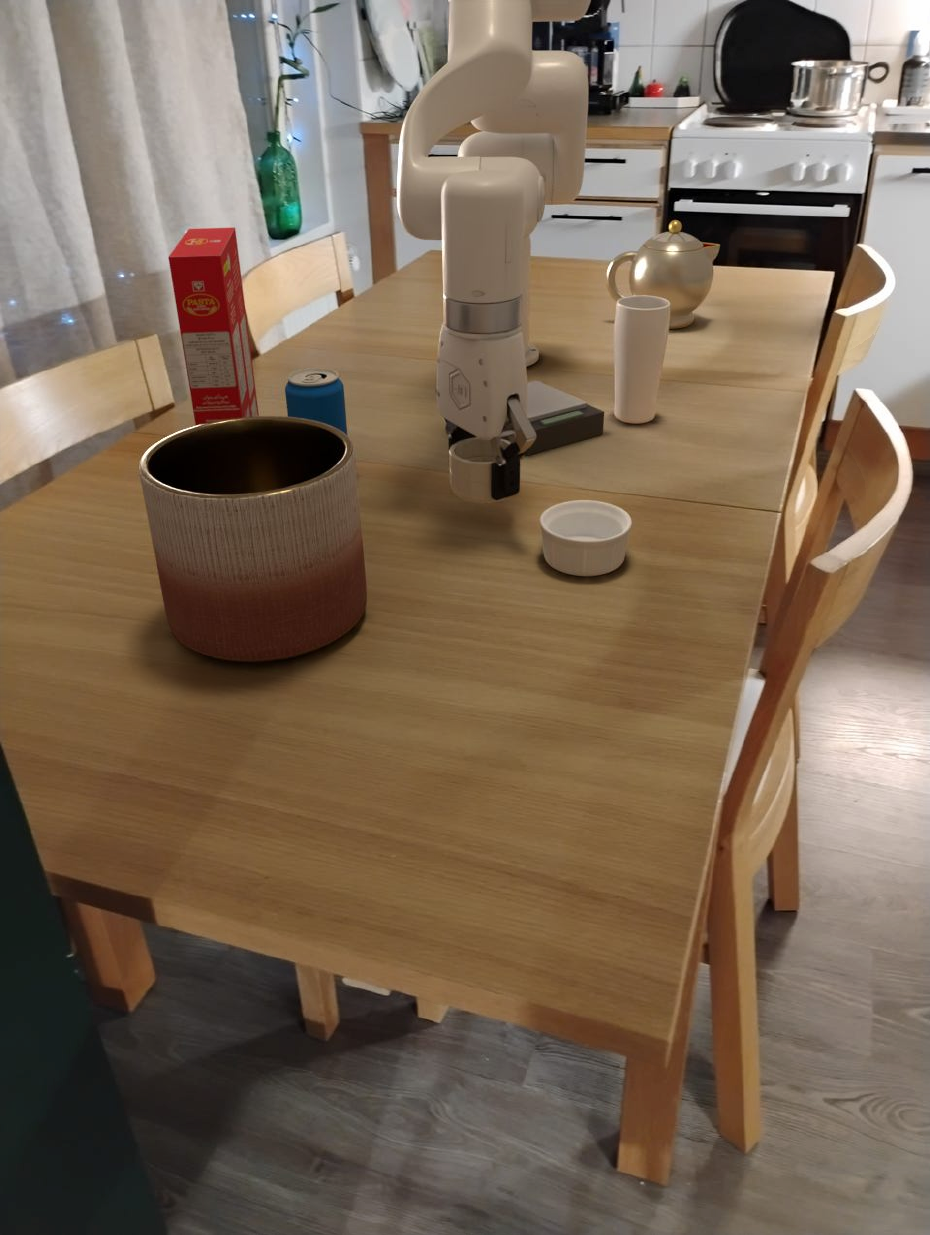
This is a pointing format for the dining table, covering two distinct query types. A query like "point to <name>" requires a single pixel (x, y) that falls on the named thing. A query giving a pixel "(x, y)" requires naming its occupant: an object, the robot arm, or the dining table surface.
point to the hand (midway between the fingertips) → (483, 481)
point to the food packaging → (213, 324)
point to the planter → (256, 536)
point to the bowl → (472, 469)
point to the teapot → (669, 272)
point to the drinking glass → (639, 355)
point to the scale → (559, 418)
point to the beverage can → (317, 397)
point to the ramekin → (585, 537)
